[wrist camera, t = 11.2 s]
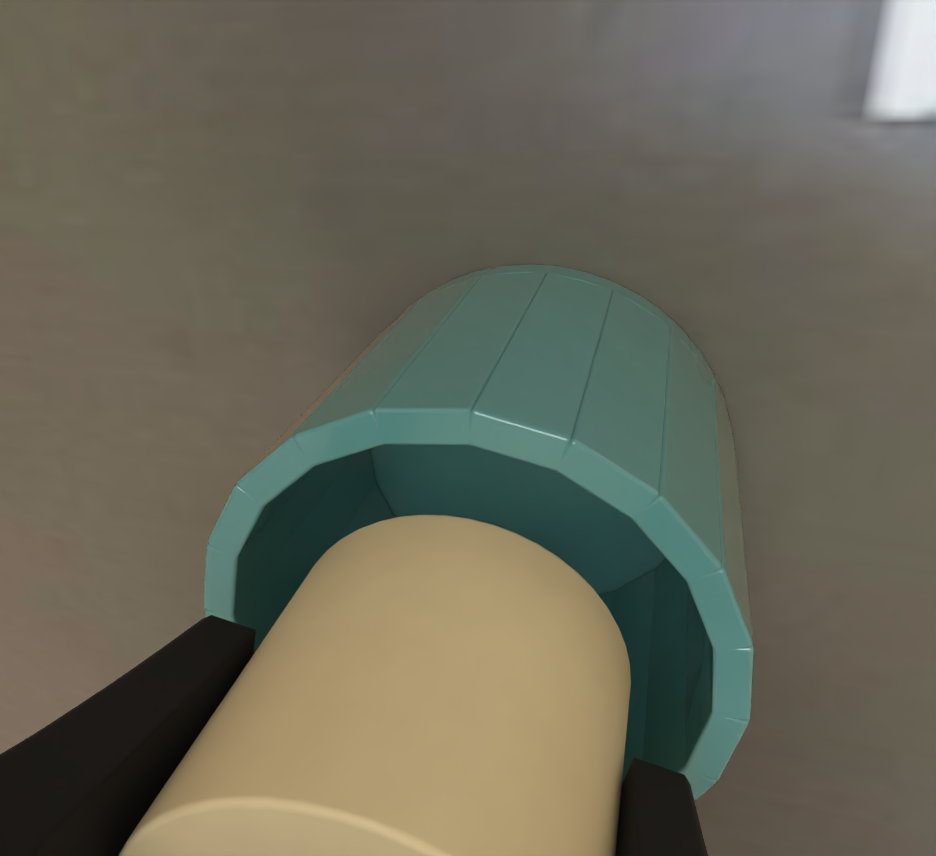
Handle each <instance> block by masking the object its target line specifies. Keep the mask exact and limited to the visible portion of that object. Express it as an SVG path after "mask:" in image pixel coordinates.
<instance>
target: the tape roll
mask: <svg viewBox="0 0 936 856" xmlns="http://www.w3.org/2000/svg"><path fill="white" fill-rule="evenodd" d="M630 687H631V676H630V663H629V658H628V654H627V649H626V645H625V643H624V640H623V637H622V635H621V632H620V630H619V627H618V625H617V624H616V622H615V620H614V618H613V616H612V615H611V613H610V611H609V609H608V608H607V606H606V605H605V603H604V602H603V601H602V599H601V598H600V597H599V595H598V594H597V593H596V591H595V590H594V589H593V588H592V587H591V586H590V585H589V584H588V583H587V582H586V580H585V579H584V578H583V577H582V576H581V575H580V574H579V573H578V572H577V571H575V570H574V569H573V568H572V567H570V566H569V565H568V564H567V563H566V562H564V561H563V560H562V559H561V558H559V557H558V556H556V555H555V554H553V553H552V552H550V551H549V550H547V549H546V548H544V547H542V546H541V545H539V544H538V543H536V542H534V541H532V540H530V539H528V538H526V537H524V536H522V535H520V534H518V533H515V532H513V531H510V530H507V529H505V528H502V527H499V526H496V525H494V524H490V523H486V522H482V521H478V520H474V519H470V518H464V517H457V516H450V515H426V514H421V515H411V516H401V517H396V518H392V519H388V520H383V521H379V522H377V523H374V524H371V525H369V526H366V527H363V528H361V529H358V530H357V531H355V532H353V533H351V534H349V535H348V536H346V537H344V538H342V539H341V540H340V541H338V542H337V543H336V544H335V545H333V546H332V547H331V548H329V549H328V550H327V551H326V552H325V553H324V555H323V556H322V557H321V558H320V559H319V560H318V561H317V562H316V564H315V565H314V567H313V568H312V569H311V571H310V572H309V574H308V575H307V577H306V578H305V580H304V581H303V583H302V584H301V586H300V587H299V589H298V590H297V591H296V593H295V594H294V596H293V597H292V599H291V600H290V602H289V603H288V605H287V606H286V608H285V609H284V611H283V612H282V614H281V615H280V616H279V618H278V619H277V621H276V622H275V624H274V625H273V627H272V628H271V630H270V631H269V633H268V634H267V636H266V637H265V639H264V640H263V641H262V643H261V644H260V646H259V647H258V649H257V650H256V652H255V653H254V655H253V656H252V658H251V659H250V661H249V662H248V663H247V665H246V666H245V668H244V669H243V671H242V672H241V674H240V675H239V677H238V678H237V680H236V681H235V683H234V684H233V686H232V687H231V688H230V690H229V691H228V693H227V694H226V696H225V697H224V699H223V700H222V702H221V703H220V705H219V706H218V708H217V709H216V711H215V712H214V713H213V715H212V716H211V718H210V719H209V721H208V722H207V724H206V725H205V727H204V728H203V730H202V731H201V733H200V734H199V736H198V737H197V738H196V740H195V741H194V743H193V744H192V746H191V747H190V749H189V750H188V752H187V753H186V755H185V756H184V758H183V759H182V760H181V762H180V763H179V765H178V766H177V768H176V769H175V771H174V772H173V774H172V775H171V777H170V778H169V780H168V781H167V783H166V784H165V785H164V787H163V788H162V790H161V791H160V793H159V794H158V796H157V797H156V799H155V800H154V802H153V803H152V805H151V806H150V808H149V809H148V810H147V812H146V813H145V815H144V816H143V818H142V819H141V821H140V822H139V824H138V825H137V827H136V828H135V830H134V831H133V832H132V834H131V835H130V837H129V838H128V840H127V842H126V843H125V845H124V847H123V848H122V850H121V852H120V853H119V856H615V853H616V841H617V830H618V819H619V808H620V797H621V786H622V775H623V764H624V753H625V742H626V731H627V720H628V709H629V698H630Z"/></svg>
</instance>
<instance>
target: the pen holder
mask: <svg viewBox="0 0 936 856" xmlns="http://www.w3.org/2000/svg"><path fill="white" fill-rule="evenodd" d="M421 514H426V515H450V516H457V517H464V518H470V519H474V520H478V521H482V522H486V523H490V524H494V525H496V526H499V527H502V528H505V529H507V530H510V531H513V532H515V533H518V534H520V535H522V536H524V537H526V538H528V539H530V540H532V541H534V542H536V543H538V544H539V545H541V546H542V547H544V548H546V549H547V550H549V551H550V552H552V553H553V554H555V555H556V556H558V557H559V558H561V559H562V560H563V561H564V562H566V563H567V564H568V565H569V566H570V567H572V568H573V569H574V570H575V571H577V572H578V573H579V574H580V575H581V576H582V577H583V578H584V579H585V580H586V582H587V583H588V584H589V585H590V586H591V587H592V588H593V589H594V590H595V591H596V593H597V594H598V595H599V597H600V598H601V599H602V601H603V602H604V603H605V605H606V606H607V608H608V609H609V611H610V613H611V615H612V616H613V618H614V620H615V622H616V624H617V625H618V627H619V630H620V632H621V635H622V637H623V640H624V643H625V645H626V649H627V654H628V658H629V663H630V676H631V687H630V698H629V709H628V720H627V731H626V742H625V753H624V764H623V775H622V783H623V781H624V779H625V776H626V774H627V772H628V770H629V767H630V765H631V763H632V760H633V758H637V759H640V760H643V761H646V762H649V763H652V764H654V765H657V766H660V767H663V768H666V769H669V770H672V771H675V772H678V773H681V774H684V775H685V776H686V778H687V779H688V781H689V783H690V784H691V789H692V793H693V798H694V800H696V799H697V798H698V797H699V796H701V795H702V794H703V793H704V792H706V791H707V790H708V789H709V788H711V787H712V786H713V785H714V784H715V783H716V780H719V778H720V776H721V775H722V773H723V771H724V769H725V767H726V765H727V763H728V761H729V759H730V758H731V756H732V754H733V752H734V750H735V748H736V746H737V744H738V742H739V741H740V739H741V737H742V735H743V733H744V731H745V729H746V727H747V726H748V724H749V718H750V717H751V704H752V683H753V663H754V643H753V632H752V622H751V612H750V601H749V591H748V580H747V570H746V560H745V549H744V539H743V529H742V518H741V508H740V497H739V487H738V477H737V466H736V456H735V446H734V439H733V433H732V430H731V427H730V422H729V415H728V411H727V408H726V404H725V401H724V398H723V394H722V391H721V389H720V387H719V384H718V382H717V380H716V378H715V376H714V374H713V372H712V369H711V367H710V366H709V364H708V363H707V361H706V360H705V358H704V357H703V355H702V354H701V352H700V351H699V349H698V348H697V346H696V345H695V344H694V343H693V341H692V340H691V339H690V338H689V337H688V336H687V335H686V333H685V332H684V331H683V330H682V329H681V328H680V327H679V326H678V325H677V324H676V323H675V322H674V321H673V320H672V319H670V318H669V317H668V316H667V315H666V314H665V313H664V312H662V311H661V310H660V309H659V308H658V307H656V306H655V305H653V304H652V303H650V302H649V301H647V300H645V299H644V298H642V297H641V296H639V295H638V294H636V293H635V292H633V291H631V290H629V289H627V288H625V287H623V286H620V285H618V284H616V283H614V282H612V281H610V280H607V279H604V278H601V277H598V276H595V275H592V274H590V273H587V272H583V271H578V270H573V269H568V268H563V267H558V266H547V265H533V264H527V265H510V266H500V267H495V268H490V269H485V270H480V271H476V272H473V273H470V274H467V275H464V276H461V277H458V278H455V279H453V280H451V281H449V282H447V283H445V284H443V285H441V286H439V287H437V288H435V289H433V290H431V291H430V292H429V293H427V294H426V295H424V296H423V297H421V298H420V299H419V300H417V301H416V302H414V303H413V304H412V305H411V306H410V307H409V308H408V309H406V310H405V311H404V312H403V313H402V314H401V315H400V316H399V317H398V318H397V319H396V320H395V321H394V322H393V323H392V324H390V325H389V326H388V327H387V328H386V329H385V330H383V331H382V332H381V333H380V334H379V335H378V336H377V337H376V338H375V339H374V340H373V341H372V342H371V343H370V344H369V345H368V347H367V348H366V349H365V350H364V351H363V352H362V353H361V354H360V355H359V356H358V357H357V358H356V359H355V360H354V361H353V362H352V363H351V364H350V365H349V366H348V367H347V368H346V369H345V370H344V371H343V372H342V373H341V374H340V375H339V377H338V378H337V379H336V380H335V381H334V382H333V383H332V384H331V385H330V386H329V387H328V388H327V389H326V390H325V391H324V392H323V393H322V394H321V395H320V396H319V397H318V398H317V399H316V400H315V401H314V402H313V403H312V404H311V406H310V407H309V408H308V409H307V410H306V411H305V412H304V413H303V414H302V415H301V416H300V417H299V418H298V419H297V420H296V421H295V422H294V423H293V424H292V425H291V426H290V427H289V428H288V429H287V430H286V431H285V432H284V433H283V435H282V436H281V437H280V438H279V439H278V440H277V441H276V442H275V443H274V444H273V445H272V446H271V447H270V448H269V449H268V450H267V451H266V452H265V453H264V454H263V455H262V456H261V457H260V458H259V459H258V460H257V461H256V462H255V463H254V465H253V466H252V467H251V468H250V469H249V470H248V471H247V472H246V473H245V474H244V475H243V476H242V477H241V478H240V479H239V480H238V482H237V483H236V484H235V485H234V487H233V489H232V491H231V494H230V496H229V498H228V500H227V502H226V504H225V506H224V508H223V510H222V512H221V514H220V516H219V518H218V520H217V522H216V524H215V526H214V528H213V530H212V532H211V535H210V537H209V539H208V544H207V546H206V563H205V584H204V604H203V606H204V608H205V609H204V613H205V616H206V617H208V616H210V615H213V616H216V617H219V618H222V619H225V620H228V621H231V622H234V623H237V624H240V625H243V626H246V627H249V628H252V629H255V630H256V635H255V645H254V653H255V652H256V650H257V649H258V647H259V646H260V644H261V643H262V641H263V640H264V639H265V637H266V636H267V634H268V633H269V631H270V630H271V628H272V627H273V625H274V624H275V622H276V621H277V619H278V618H279V616H280V615H281V614H282V612H283V611H284V609H285V608H286V606H287V605H288V603H289V602H290V600H291V599H292V597H293V596H294V594H295V593H296V591H297V590H298V589H299V587H300V586H301V584H302V583H303V581H304V580H305V578H306V577H307V575H308V574H309V572H310V571H311V569H312V568H313V567H314V565H315V564H316V562H317V561H318V560H319V559H320V558H321V557H322V556H323V555H324V553H325V552H326V551H327V550H328V549H329V548H331V547H332V546H333V545H335V544H336V543H337V542H338V541H340V540H341V539H342V538H344V537H346V536H348V535H349V534H351V533H353V532H355V531H357V530H358V529H361V528H363V527H366V526H369V525H371V524H374V523H377V522H379V521H383V520H388V519H392V518H396V517H401V516H411V515H421Z"/></svg>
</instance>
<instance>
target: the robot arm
mask: <svg viewBox="0 0 936 856" xmlns="http://www.w3.org/2000/svg"><path fill="white" fill-rule="evenodd" d="M255 635H256V630H255V629H252V628H249V627H246V626H243V625H240V624H237V623H234V622H231V621H228V620H225V619H222V618H219V617H216V616H213V615H210V616H208V617H206V618H204V619H202V620H200V621H199V622H198V623H196V624H195V625H194V626H192V627H191V628H189V629H188V630H187V631H185V632H184V633H182V634H181V635H180V636H178V637H177V638H175V639H174V640H173V641H171V642H170V643H169V644H167V645H166V646H164V647H163V648H162V649H160V650H159V651H157V652H156V653H155V654H153V655H152V656H150V657H149V658H147V659H146V660H145V661H143V662H142V663H140V664H139V665H138V666H136V667H135V668H133V669H132V670H130V671H129V672H127V673H126V674H124V675H123V676H122V677H120V678H119V679H117V680H116V681H114V682H113V683H111V684H110V685H109V686H107V687H106V688H104V689H103V690H101V691H100V692H98V693H96V694H95V695H93V696H92V697H90V698H89V699H87V700H86V701H84V702H83V703H81V704H80V705H78V706H77V707H75V708H74V709H72V710H71V711H69V712H68V713H66V714H65V715H63V716H62V717H60V718H58V719H57V720H55V721H54V722H52V723H51V724H49V725H48V726H46V727H45V728H43V729H41V730H40V731H38V732H37V733H35V734H34V735H32V736H30V737H29V738H27V739H25V740H24V741H22V742H20V743H19V744H17V745H15V746H14V747H12V748H10V749H9V750H7V751H5V752H4V753H2V754H0V856H119V853H120V852H121V850H122V848H123V847H124V845H125V843H126V842H127V840H128V838H129V837H130V835H131V834H132V832H133V831H134V830H135V828H136V827H137V825H138V824H139V822H140V821H141V819H142V818H143V816H144V815H145V813H146V812H147V810H148V809H149V808H150V806H151V805H152V803H153V802H154V800H155V799H156V797H157V796H158V794H159V793H160V791H161V790H162V788H163V787H164V785H165V784H166V783H167V781H168V780H169V778H170V777H171V775H172V774H173V772H174V771H175V769H176V768H177V766H178V765H179V763H180V762H181V760H182V759H183V758H184V756H185V755H186V753H187V752H188V750H189V749H190V747H191V746H192V744H193V743H194V741H195V740H196V738H197V737H198V736H199V734H200V733H201V731H202V730H203V728H204V727H205V725H206V724H207V722H208V721H209V719H210V718H211V716H212V715H213V713H214V712H215V711H216V709H217V708H218V706H219V705H220V703H221V702H222V700H223V699H224V697H225V696H226V694H227V693H228V691H229V690H230V688H231V687H232V686H233V684H234V683H235V681H236V680H237V678H238V677H239V675H240V674H241V672H242V671H243V669H244V668H245V666H246V665H247V663H248V662H249V661H250V659H251V658H252V656H253V655H254V645H255ZM615 856H708V854H707V850H706V846H705V842H704V839H703V835H702V831H701V827H700V823H699V819H698V815H697V810H696V806H695V802H694V798H693V793H692V789H691V784H690V783H689V781H688V779H687V778H686V776H685V775H684V774H681V773H678V772H675V771H672V770H669V769H666V768H663V767H660V766H657V765H654V764H652V763H649V762H646V761H643V760H640V759H637V758H633V760H632V763H631V765H630V767H629V770H628V772H627V774H626V776H625V779H624V781H623V783H622V786H621V797H620V808H619V819H618V830H617V841H616V853H615Z"/></svg>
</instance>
